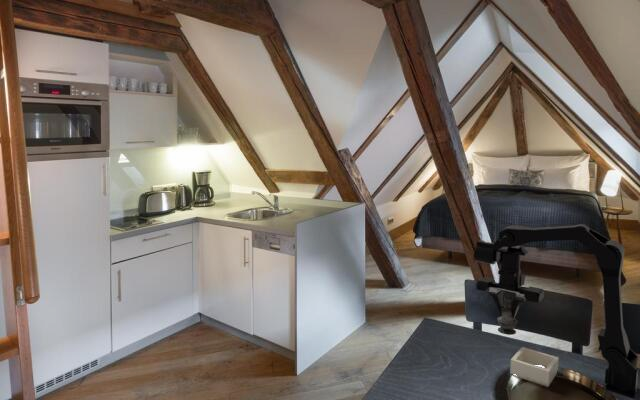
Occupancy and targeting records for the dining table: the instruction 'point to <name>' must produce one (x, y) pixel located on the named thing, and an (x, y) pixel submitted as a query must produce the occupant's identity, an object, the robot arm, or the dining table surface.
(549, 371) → the box
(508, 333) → the dark grey tall piece
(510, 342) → the dining table surface
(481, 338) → the dining table surface
